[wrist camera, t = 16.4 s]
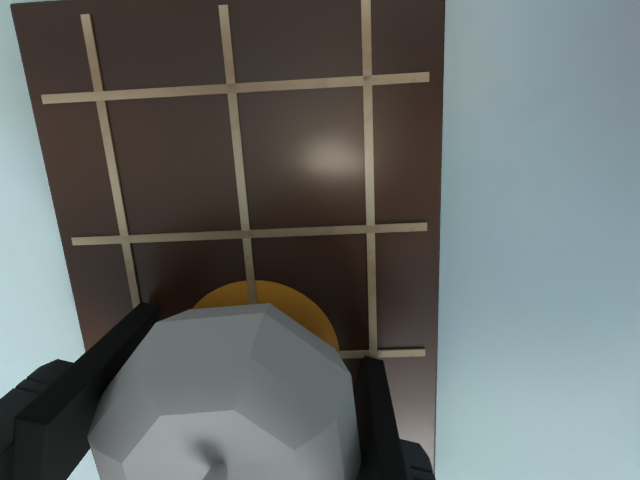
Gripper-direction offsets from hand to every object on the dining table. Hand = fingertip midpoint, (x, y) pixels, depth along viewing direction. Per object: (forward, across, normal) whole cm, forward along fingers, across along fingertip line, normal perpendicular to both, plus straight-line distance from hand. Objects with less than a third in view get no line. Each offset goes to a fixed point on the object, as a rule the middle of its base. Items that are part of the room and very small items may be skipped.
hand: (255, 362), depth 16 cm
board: (+2, -1, +3) cm, 3 cm away
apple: (0, 0, 0) cm, 0 cm away
